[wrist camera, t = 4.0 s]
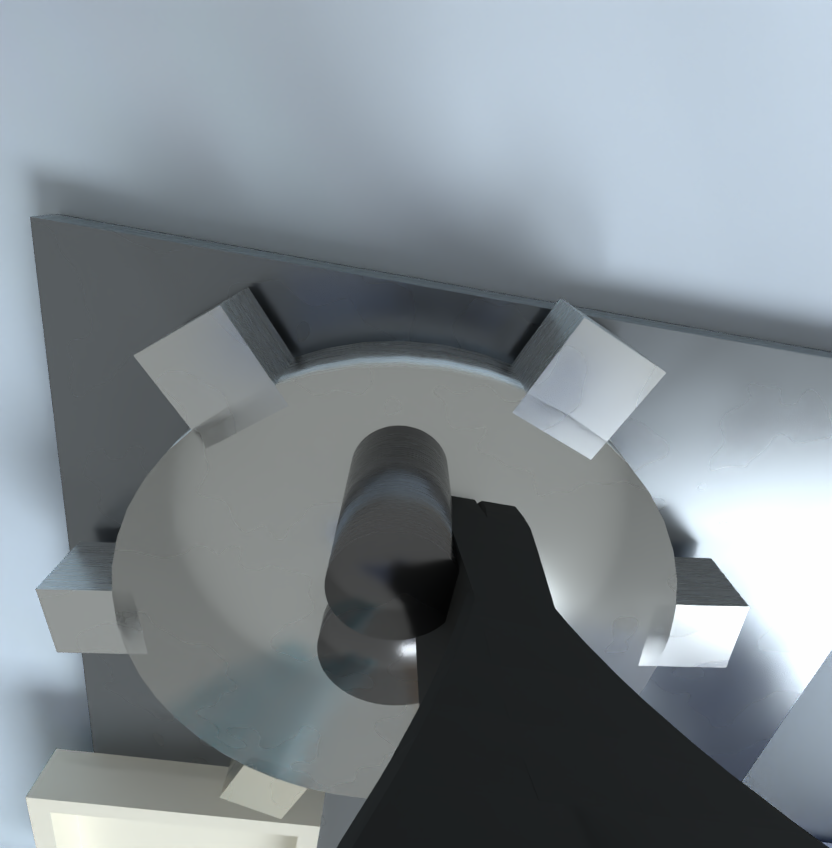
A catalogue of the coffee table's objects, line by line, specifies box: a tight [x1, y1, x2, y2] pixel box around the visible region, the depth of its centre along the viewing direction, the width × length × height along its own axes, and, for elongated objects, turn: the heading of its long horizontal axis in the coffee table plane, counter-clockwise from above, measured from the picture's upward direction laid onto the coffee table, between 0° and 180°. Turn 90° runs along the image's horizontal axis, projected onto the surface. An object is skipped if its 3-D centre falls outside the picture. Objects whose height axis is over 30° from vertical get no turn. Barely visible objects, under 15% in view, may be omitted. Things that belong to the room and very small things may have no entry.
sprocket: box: [36, 287, 749, 819], centre depth 11 cm, size 15×14×5 cm
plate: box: [30, 214, 832, 848], centre depth 16 cm, size 20×24×1 cm
